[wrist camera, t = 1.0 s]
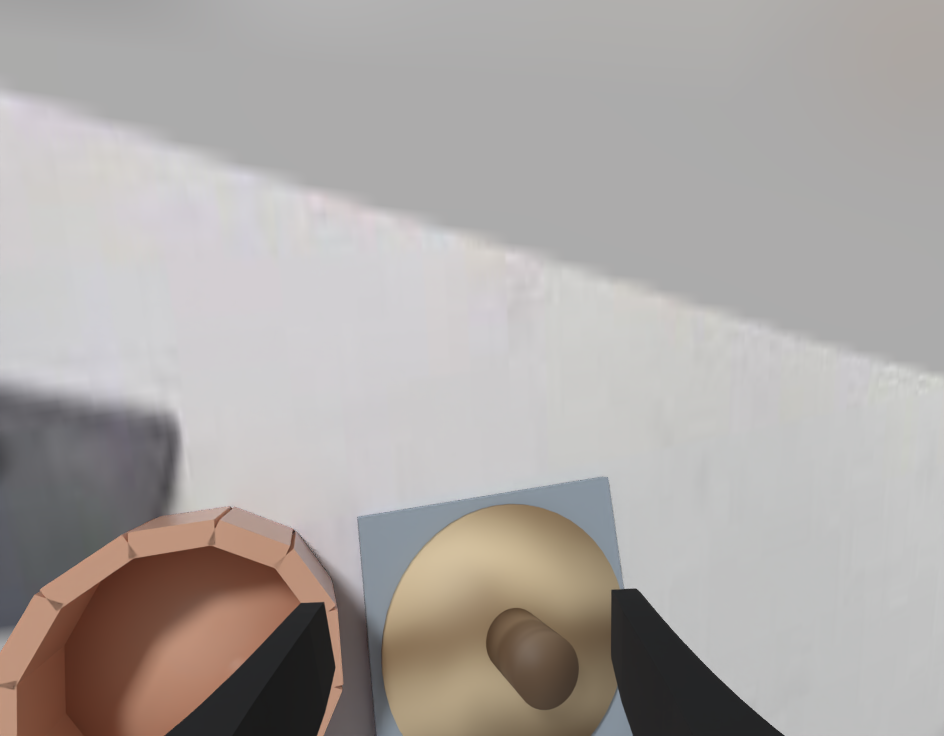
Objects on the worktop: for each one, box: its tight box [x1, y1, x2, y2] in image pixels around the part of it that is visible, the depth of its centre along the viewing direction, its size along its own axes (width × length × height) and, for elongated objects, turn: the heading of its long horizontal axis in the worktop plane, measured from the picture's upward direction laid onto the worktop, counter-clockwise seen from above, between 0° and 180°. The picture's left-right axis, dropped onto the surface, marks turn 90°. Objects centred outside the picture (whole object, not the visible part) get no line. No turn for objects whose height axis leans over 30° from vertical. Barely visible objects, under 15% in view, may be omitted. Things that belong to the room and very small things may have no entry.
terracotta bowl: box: [0, 506, 343, 736], centre depth 21 cm, size 12×12×4 cm
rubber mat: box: [357, 477, 633, 736], centre depth 27 cm, size 15×15×1 cm
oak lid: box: [381, 504, 620, 736], centre depth 25 cm, size 14×14×5 cm
